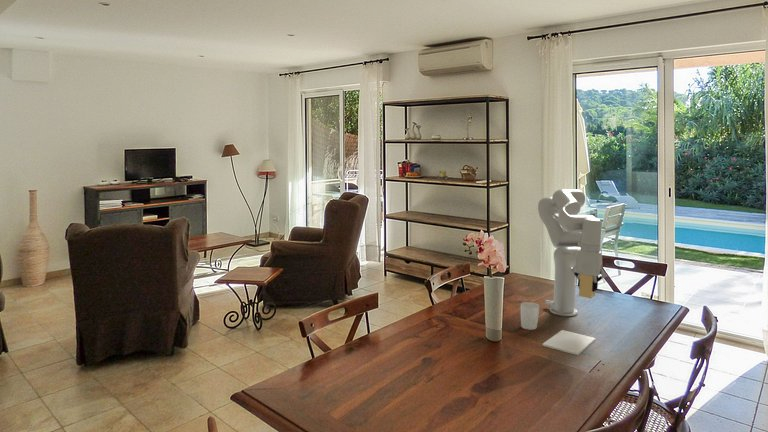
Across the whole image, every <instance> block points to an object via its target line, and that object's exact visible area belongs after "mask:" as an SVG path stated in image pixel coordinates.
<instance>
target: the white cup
mask: <svg viewBox="0 0 768 432" xmlns="http://www.w3.org/2000/svg"><path fill="white" fill-rule="evenodd" d="M539 315H540V305H539V304H538V303H536V302H529V301H526V302H525V301H524V302H521V303H520V327H521V328H522V329H525V330H530V331H531V330H536V329H537V328H538V323H539Z"/></svg>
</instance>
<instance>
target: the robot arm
mask: <svg viewBox="0 0 768 432" xmlns="http://www.w3.org/2000/svg"><path fill="white" fill-rule="evenodd" d="M585 203H586V195H585V192H583V191H582V190H581V189H578V188H577V189H575V188H574V189H573V188H571V189H570V188H568V189H567V188H562V189H558V190H556V191H554V193H553V194H552V196H547V197H543V198H541V199H540V200H539V201H538V204H537V209H538V215H539V218H540V220H541V221H542V223H543V225H544V226H545V228H546V231H547V233H548V236H549V238H550V239H549V240H550V242H551V244H552V246H553V247H554V248H555V250H554V251H553V261H554V262H553V263H554V283H553V285H554V287H553V300H550V299H545V305H546V306H550V307H549V312H550V313H551V314H554V315H557V316H561V317H574V316H577V315H578V313H579V311H578V310H577V308H575V305H576V302H575V301H576V289H577V288H576V287H579V286H580V274H585V275H590V276H593V279H594V282H593V287H592V291H593V292H594V291H595V292H596V291H597V290H598V288H599V287H598V285H599V282H600V281H601V280H603V279H605V278H606V277H608V274H607V273H606V271H605V270H604V269H603V255H602V254H603V253H602V251H601V238H602V224H603V222H602V220H601V219H599V218H597V217H596V216H594V215H591V214H579V213H580V212H581V208H582V207H583V206H584V205H585Z"/></svg>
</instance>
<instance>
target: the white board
mask: <svg viewBox="0 0 768 432" xmlns="http://www.w3.org/2000/svg"><path fill="white" fill-rule="evenodd" d="M596 340H597V339H596V337H593V336H588V335H584V334H580V333H576V332H573V331H568V330H564V329H561V330H560V331H558V332H557V333H555V334H554V335H552V336H551V337H550V338H548V339H547V340H546V341H545V342H543V343H542V347H545V348H549V349H553V350H557V351H559V352H564V353H568V354H571V355H575V356H579V355H580V354H581V353H582V352H584V351H585V350H586V349H587V348H588V347H589V346H590V345H592V344H593V343H594V342H595V341H596Z"/></svg>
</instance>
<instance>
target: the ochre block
mask: <svg viewBox="0 0 768 432" xmlns="http://www.w3.org/2000/svg"><path fill="white" fill-rule="evenodd" d="M593 282H594V279H593V276H590V275H585V274H580V286H578V297H581V298H582V297H583V298H587V299H592V298H594V297H595V296H596V291H594V292H593V291H592V287H593Z"/></svg>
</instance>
